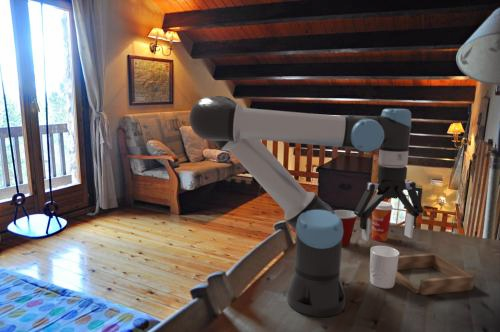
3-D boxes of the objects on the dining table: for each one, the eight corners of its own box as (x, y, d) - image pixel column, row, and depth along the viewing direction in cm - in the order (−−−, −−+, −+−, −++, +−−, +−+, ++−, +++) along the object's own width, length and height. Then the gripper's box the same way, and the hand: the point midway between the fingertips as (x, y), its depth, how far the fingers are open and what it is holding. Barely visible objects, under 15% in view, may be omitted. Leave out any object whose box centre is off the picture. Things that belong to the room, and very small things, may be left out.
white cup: (398, 291, 106) (401, 257, 104) (369, 288, 107) (372, 255, 105) (393, 278, 113) (396, 246, 111) (366, 275, 115) (369, 244, 113)
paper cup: (364, 236, 147) (367, 201, 144) (381, 234, 149) (384, 200, 147) (377, 243, 140) (380, 207, 137) (394, 241, 142) (397, 205, 139)
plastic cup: (339, 236, 147) (341, 206, 144) (362, 245, 138) (364, 213, 136) (319, 241, 140) (321, 211, 138) (342, 251, 132) (344, 219, 130)
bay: (417, 295, 103) (418, 282, 103) (384, 268, 119) (385, 256, 118) (472, 289, 107) (474, 276, 106) (433, 264, 123) (434, 253, 122)
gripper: (357, 169, 98) (352, 246, 101) (441, 166, 103) (434, 239, 106) (344, 164, 105) (340, 236, 109) (423, 161, 110) (417, 230, 114)
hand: (386, 238), depth 108 cm, fingers open, 13 cm apart
